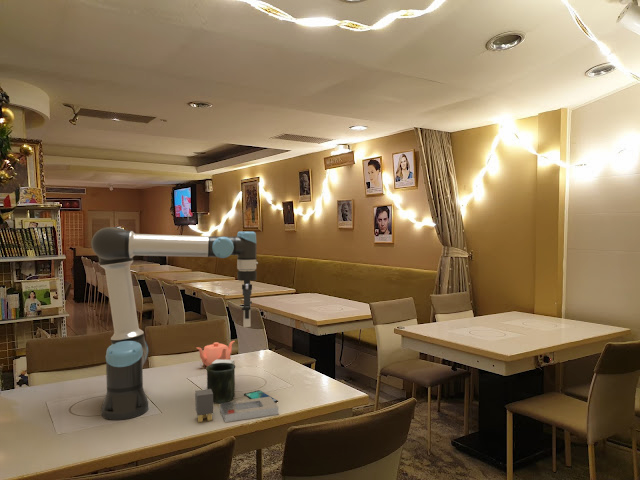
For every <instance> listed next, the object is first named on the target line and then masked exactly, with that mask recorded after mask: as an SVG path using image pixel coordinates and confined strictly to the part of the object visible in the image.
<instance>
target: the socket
mask: <svg viewBox="0 0 640 480" xmlns="http://www.w3.org/2000/svg"><path fill="white" fill-rule="evenodd" d="M271 397H272V396H271ZM271 397H263V398H256V399H249V398H248V399H242V400H236V401H234V400H233V401H228V402H223V403H219V411H220V413H221V415H222V416H221V417H222V418H223V421H224V422H225V423H230V422H231V423H232V422H237V421H244V420H245V421H246V420H250V419H258V418H262V417H264V418H265V417H270V416H277V415H279V406H278V405H277V403H275V402H274V401H273V399H272V398H273V397H272V398H271Z"/></svg>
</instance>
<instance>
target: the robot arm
mask: <svg viewBox="0 0 640 480" xmlns="http://www.w3.org/2000/svg"><path fill="white" fill-rule="evenodd" d="M90 244H91V249H92V251H93V253H94V254H95V255H96V256H97V258H98V261H99V266H100V267H101V268H102V269H104V271H105V272H104V273H105V280H106V284H107V291H108V293H107V294H108V299H109V306H110V312H111V319H112V326H113V335H112V336H111V337H110V343H111V345H109V346H108V347H107V348H106V352H105V353H106V354H105V365H106V366H105V367H106V368H105V369H106V370H105V371H106V372H105V373H106V374H105V375H106V393H105V397H104V399H103V403H102V406H101V417H102V418H104V419H106V420H112V421H118V420H121V421H122V420H127V419H132V418H136V417H139V416H141V415H143V414H145V413H146V412H148V410H149V401H148V397H147V395H146V393H145V392H146V391H145V389H144V381H143V379H144V378H143V377H144V375H143V366H144V365H145V363H146V360H147V358H148V357H149V355H148V354H149V346H148V344H147V342H146V339H145V338H146V337H145V333H144V332H145V331H144V330H142V329H140V328H139V326H140V325H139V321H138V314H137V313H138V312H137V305H136V300H135V293H134V292H135V291H134V288H133V287H134V286H133V278H132V271H131V265H132V264H133V263H134V257H135V256H142V257H143V256H146V257H148V256H149V257H153V256H154V257H193V258H194V257H200V258H201V257H203V258H219V259H226V258H228V257H230V256H237V262H236V264H237V265H236V269H237V280H238V281H241V282H242V281H243V284H241V290H242V296H243V307H241V311H243V313H242V314H243V317H242V318H243V319H242V321H243V326H242V327H243V328H251V326H252V325H251V322H252V321H251V320H252V319H251V317H252V316H251V314H252V313H251V312H252V311H251V309H252V307H251V305H252V304H253V302H252V300H251V296H252V291H253V284H252V283H251V282H252V281H256V280H257V272H258V271H256V270H257V265H258V264H259V262H258V261H257V252H258V251H257V233H256V231H238V232H237V234H236V235H235V236H222V235H221V236H216V235H215V236H209V235H207V236H205V235H201V236H200V235H184V234H183V235H179V234H175V235H173V234H151V233H150V234H149V233H135V232H134V231H133V230H125V229H123V228H121V227H119V226H118V227H117V226H115V227H114V226H113V227H112V226H111V227H110V226H109V227H103V228H101V229H99V230H97V231H96V232H95V233H94V235H93V236H92V239H91V243H90Z"/></svg>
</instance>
